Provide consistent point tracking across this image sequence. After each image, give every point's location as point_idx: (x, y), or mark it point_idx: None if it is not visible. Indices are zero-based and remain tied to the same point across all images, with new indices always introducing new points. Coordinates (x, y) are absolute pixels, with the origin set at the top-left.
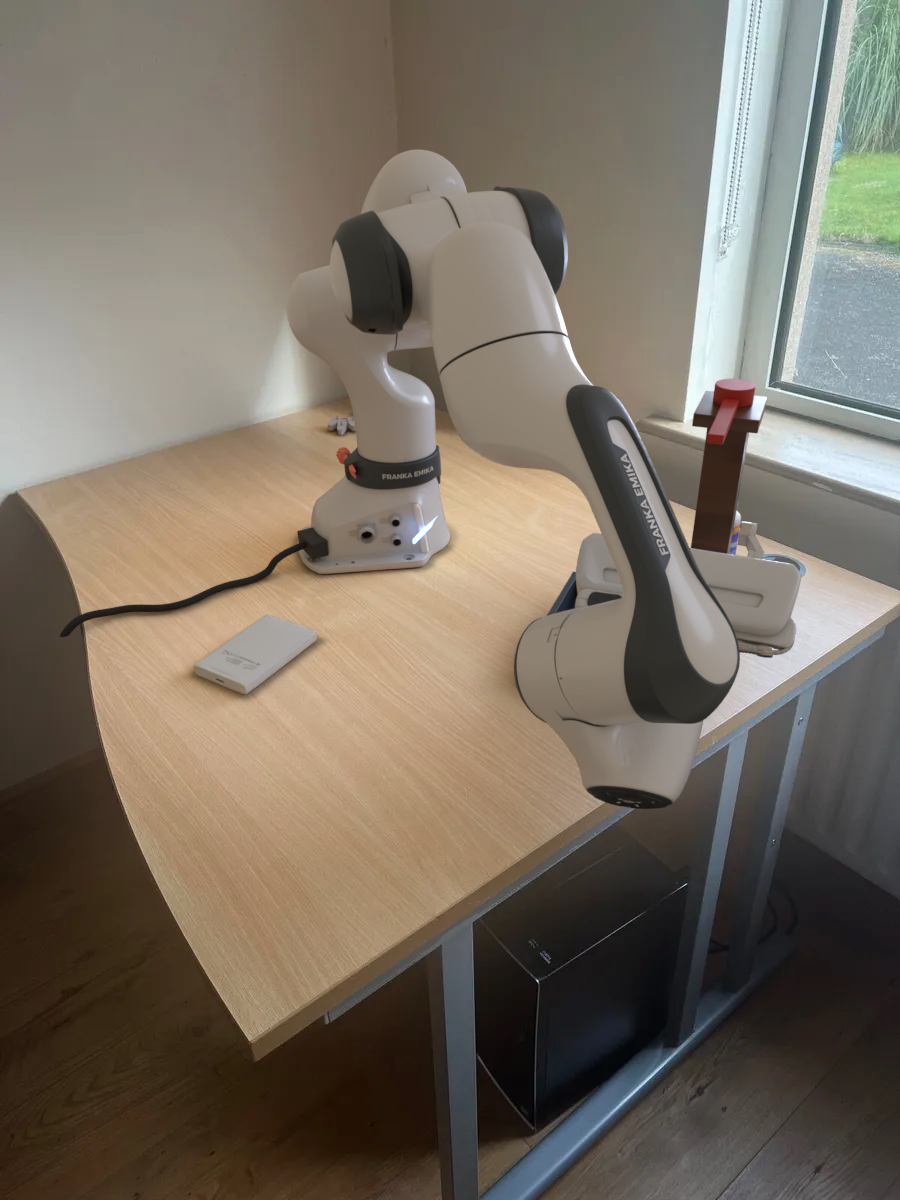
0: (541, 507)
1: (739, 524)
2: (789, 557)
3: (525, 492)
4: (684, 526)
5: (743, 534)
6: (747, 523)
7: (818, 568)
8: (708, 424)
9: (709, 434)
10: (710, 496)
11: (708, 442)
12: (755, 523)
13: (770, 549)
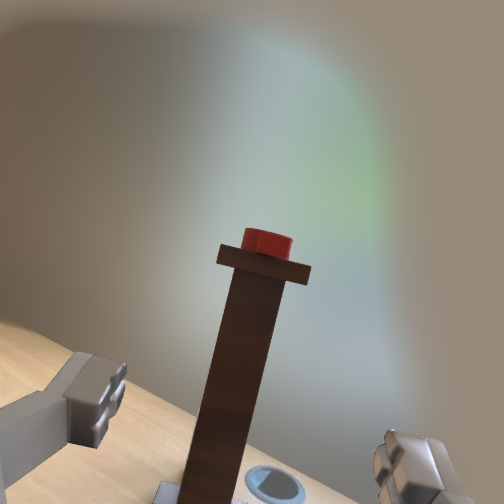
0: (21, 390)
1: None
2: (284, 471)
3: (13, 372)
4: (176, 425)
5: (423, 483)
6: (415, 438)
7: (316, 487)
8: (239, 263)
9: (264, 232)
10: (224, 382)
11: (260, 249)
12: (433, 439)
13: (263, 459)
